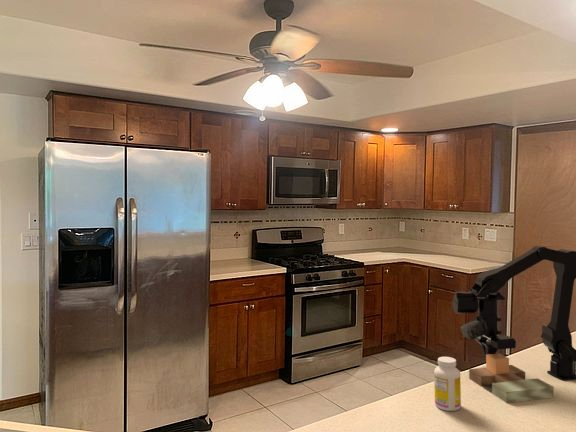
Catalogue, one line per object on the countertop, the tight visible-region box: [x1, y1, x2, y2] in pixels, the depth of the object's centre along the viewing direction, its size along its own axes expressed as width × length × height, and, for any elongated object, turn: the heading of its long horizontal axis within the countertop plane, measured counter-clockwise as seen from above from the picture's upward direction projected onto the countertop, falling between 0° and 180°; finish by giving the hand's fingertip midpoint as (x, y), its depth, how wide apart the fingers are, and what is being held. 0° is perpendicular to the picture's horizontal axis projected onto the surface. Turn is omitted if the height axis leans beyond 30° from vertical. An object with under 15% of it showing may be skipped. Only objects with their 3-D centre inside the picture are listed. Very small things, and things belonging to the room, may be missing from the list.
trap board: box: [468, 364, 555, 404], centre depth 130 cm, size 15×17×3 cm
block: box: [485, 352, 510, 374], centre depth 135 cm, size 4×4×4 cm
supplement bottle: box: [433, 356, 462, 412], centre depth 119 cm, size 7×7×13 cm
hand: (488, 362), depth 139 cm, fingers closed
